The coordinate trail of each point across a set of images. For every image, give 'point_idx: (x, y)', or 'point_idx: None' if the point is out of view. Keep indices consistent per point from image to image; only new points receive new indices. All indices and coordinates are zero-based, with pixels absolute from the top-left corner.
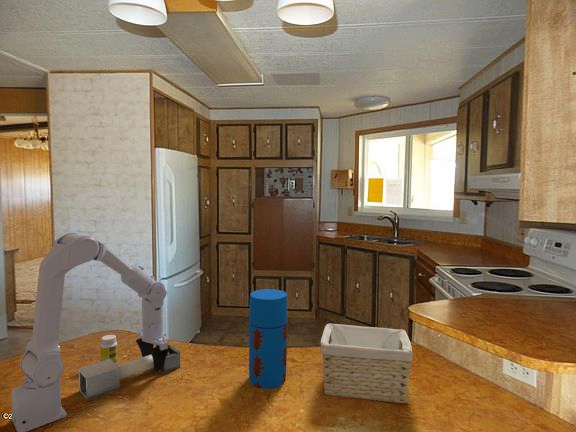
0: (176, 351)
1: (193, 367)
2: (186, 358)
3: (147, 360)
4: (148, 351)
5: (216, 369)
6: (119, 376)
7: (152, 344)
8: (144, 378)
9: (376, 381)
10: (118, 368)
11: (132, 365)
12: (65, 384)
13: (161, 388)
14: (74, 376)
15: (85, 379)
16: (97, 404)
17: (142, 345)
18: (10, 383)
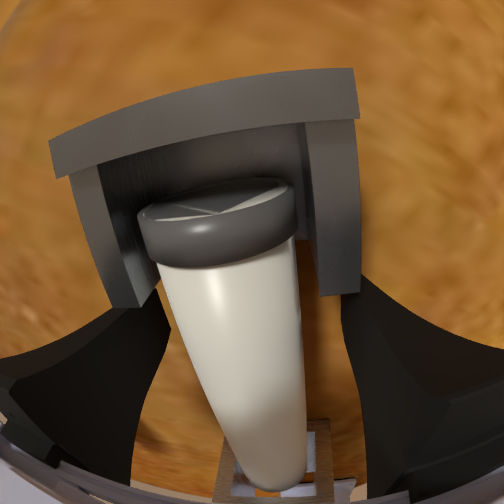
0: (319, 111)
1: (377, 23)
2: (188, 7)
3: (288, 403)
4: (126, 357)
5: None
6: (332, 466)
7: (81, 367)
8: (309, 341)
9: None
10: (333, 500)
11: (294, 453)
12: (187, 464)
13: (463, 302)
14: (147, 447)
15: (252, 490)
16: (361, 451)
17: (122, 445)
18: (139, 479)
